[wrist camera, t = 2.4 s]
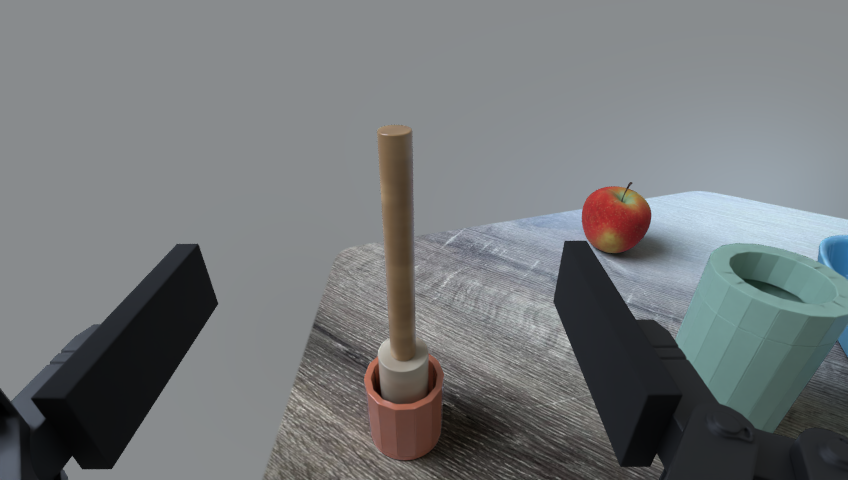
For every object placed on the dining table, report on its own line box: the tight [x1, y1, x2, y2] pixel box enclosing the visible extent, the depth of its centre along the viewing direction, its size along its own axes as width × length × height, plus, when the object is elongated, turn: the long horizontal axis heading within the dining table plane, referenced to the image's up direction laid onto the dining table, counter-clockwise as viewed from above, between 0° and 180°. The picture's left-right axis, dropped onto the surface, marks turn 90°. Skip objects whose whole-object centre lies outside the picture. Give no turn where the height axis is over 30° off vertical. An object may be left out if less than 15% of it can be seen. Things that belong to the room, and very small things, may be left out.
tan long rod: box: [377, 125, 429, 404], centre depth 28 cm, size 4×4×24 cm
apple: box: [582, 182, 651, 253], centre depth 55 cm, size 8×8×10 cm
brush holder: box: [364, 354, 444, 460], centre depth 33 cm, size 6×6×6 cm
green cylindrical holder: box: [675, 243, 848, 433], centre depth 32 cm, size 8×8×14 cm
